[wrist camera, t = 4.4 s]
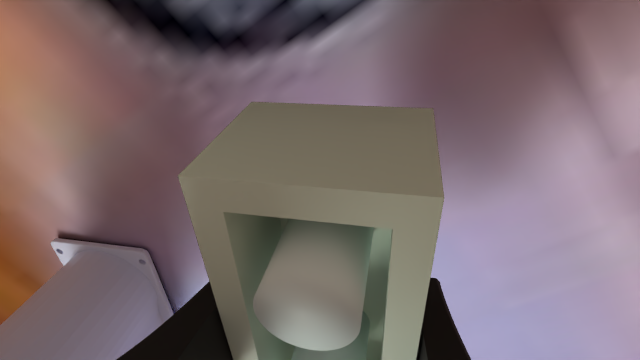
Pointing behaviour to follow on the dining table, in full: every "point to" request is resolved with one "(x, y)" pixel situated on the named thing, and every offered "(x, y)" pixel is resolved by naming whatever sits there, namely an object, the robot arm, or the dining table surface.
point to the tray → (320, 191)
